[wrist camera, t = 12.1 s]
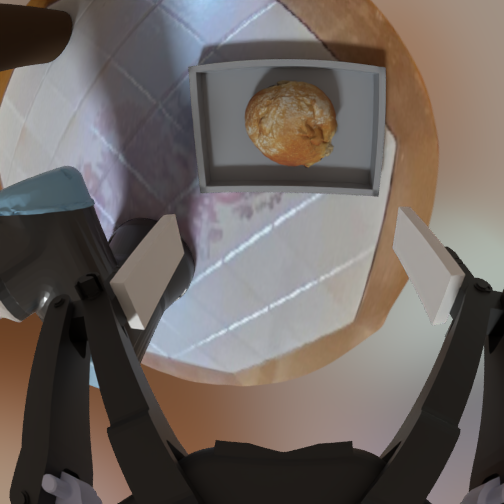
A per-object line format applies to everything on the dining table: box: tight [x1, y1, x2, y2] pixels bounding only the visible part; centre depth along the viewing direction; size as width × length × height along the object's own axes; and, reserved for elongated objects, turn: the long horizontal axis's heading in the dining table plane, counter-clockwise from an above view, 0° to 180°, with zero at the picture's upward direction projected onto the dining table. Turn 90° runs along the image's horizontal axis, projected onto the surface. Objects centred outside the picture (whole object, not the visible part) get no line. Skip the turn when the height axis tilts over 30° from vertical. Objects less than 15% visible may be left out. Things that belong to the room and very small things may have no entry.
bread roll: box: [245, 80, 338, 168], centre depth 28 cm, size 10×10×8 cm
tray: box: [188, 59, 386, 196], centre depth 29 cm, size 22×16×3 cm
